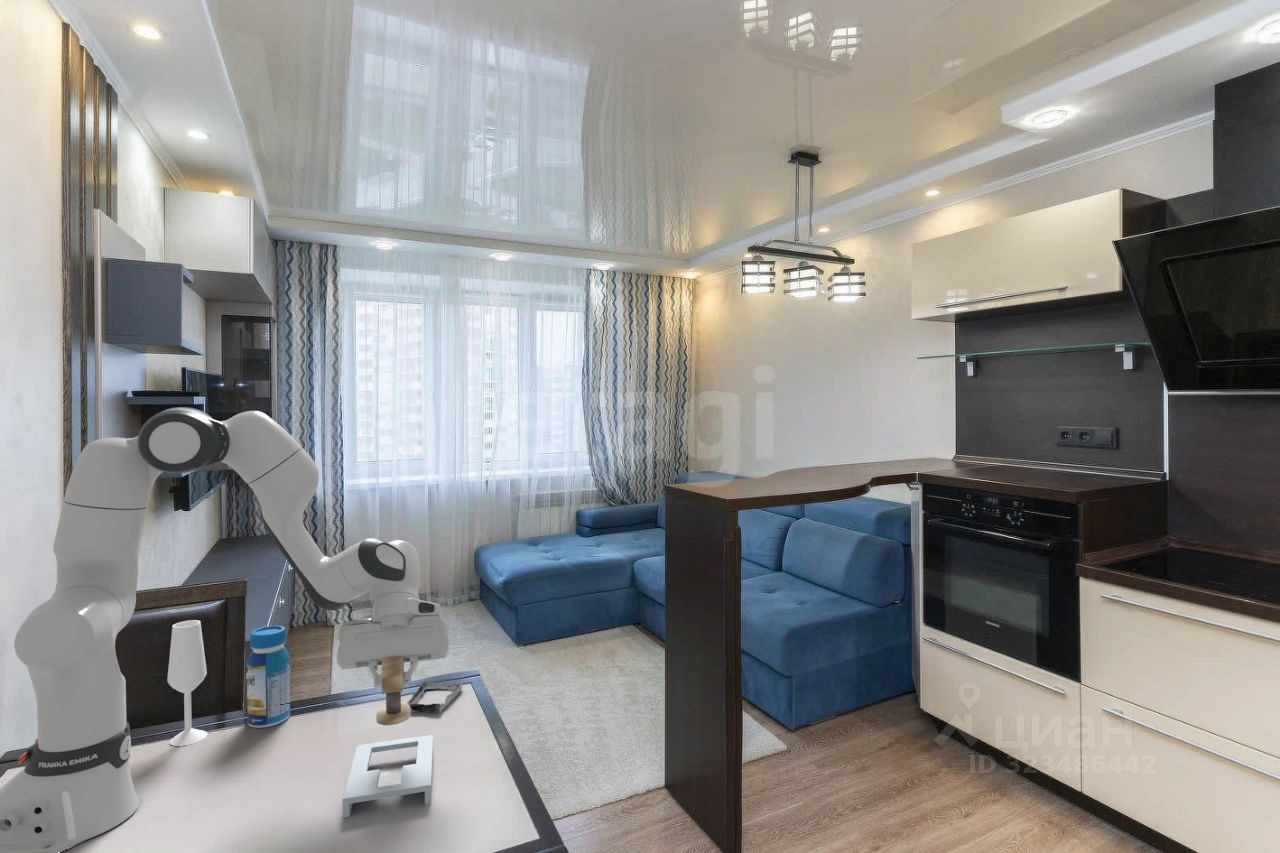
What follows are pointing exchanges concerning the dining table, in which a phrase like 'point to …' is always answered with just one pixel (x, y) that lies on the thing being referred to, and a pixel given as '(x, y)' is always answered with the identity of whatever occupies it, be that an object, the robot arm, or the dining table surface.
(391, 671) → the beech peg
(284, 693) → the beverage bottle
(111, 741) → the robot arm
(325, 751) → the dining table surface
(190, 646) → the champagne flute
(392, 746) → the keyhole plate
